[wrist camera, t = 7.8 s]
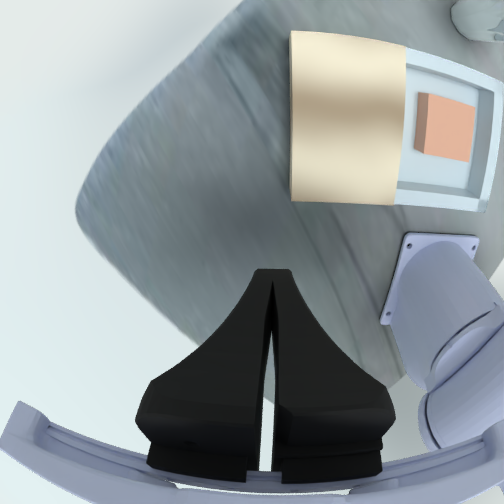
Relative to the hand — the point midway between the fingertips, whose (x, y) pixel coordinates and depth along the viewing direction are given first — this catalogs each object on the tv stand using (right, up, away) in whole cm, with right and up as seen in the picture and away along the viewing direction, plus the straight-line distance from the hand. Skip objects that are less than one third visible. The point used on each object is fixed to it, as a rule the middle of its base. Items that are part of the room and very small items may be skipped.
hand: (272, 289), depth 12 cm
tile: (+12, +9, +2) cm, 15 cm away
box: (+12, +10, +4) cm, 16 cm away
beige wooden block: (+5, +10, +4) cm, 12 cm away
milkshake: (+14, +18, -1) cm, 23 cm away
